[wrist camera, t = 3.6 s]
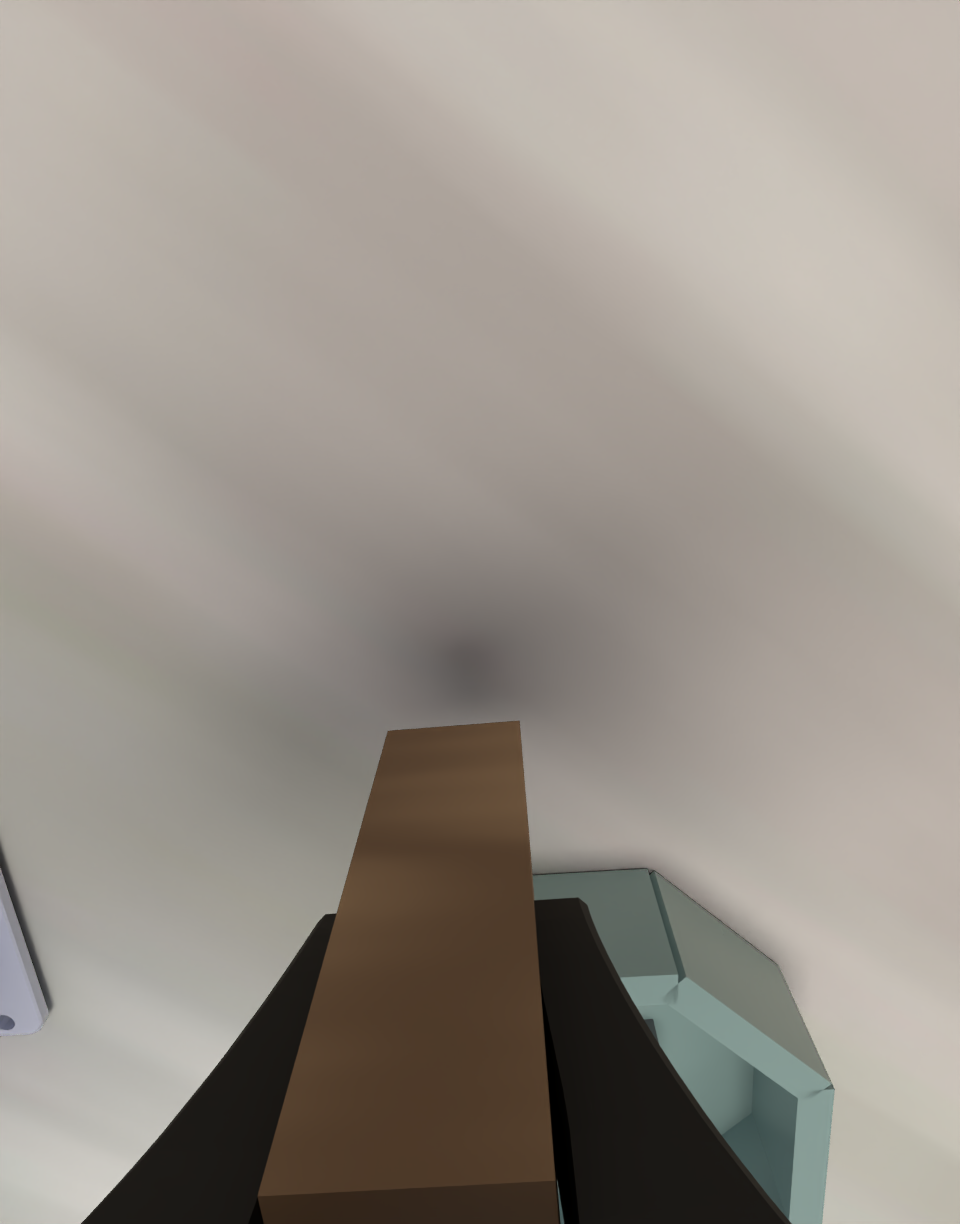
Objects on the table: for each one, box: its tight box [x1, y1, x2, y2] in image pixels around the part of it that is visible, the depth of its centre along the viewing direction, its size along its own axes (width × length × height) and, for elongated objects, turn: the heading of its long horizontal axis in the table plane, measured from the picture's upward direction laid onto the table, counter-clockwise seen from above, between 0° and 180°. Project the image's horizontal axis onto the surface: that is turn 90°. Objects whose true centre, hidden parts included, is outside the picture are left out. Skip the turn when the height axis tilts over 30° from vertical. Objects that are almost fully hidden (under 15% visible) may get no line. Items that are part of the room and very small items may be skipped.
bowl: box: [533, 869, 835, 1224], centre depth 20 cm, size 12×12×4 cm
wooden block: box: [257, 721, 561, 1224], centre depth 9 cm, size 2×4×7 cm, turn 5°
